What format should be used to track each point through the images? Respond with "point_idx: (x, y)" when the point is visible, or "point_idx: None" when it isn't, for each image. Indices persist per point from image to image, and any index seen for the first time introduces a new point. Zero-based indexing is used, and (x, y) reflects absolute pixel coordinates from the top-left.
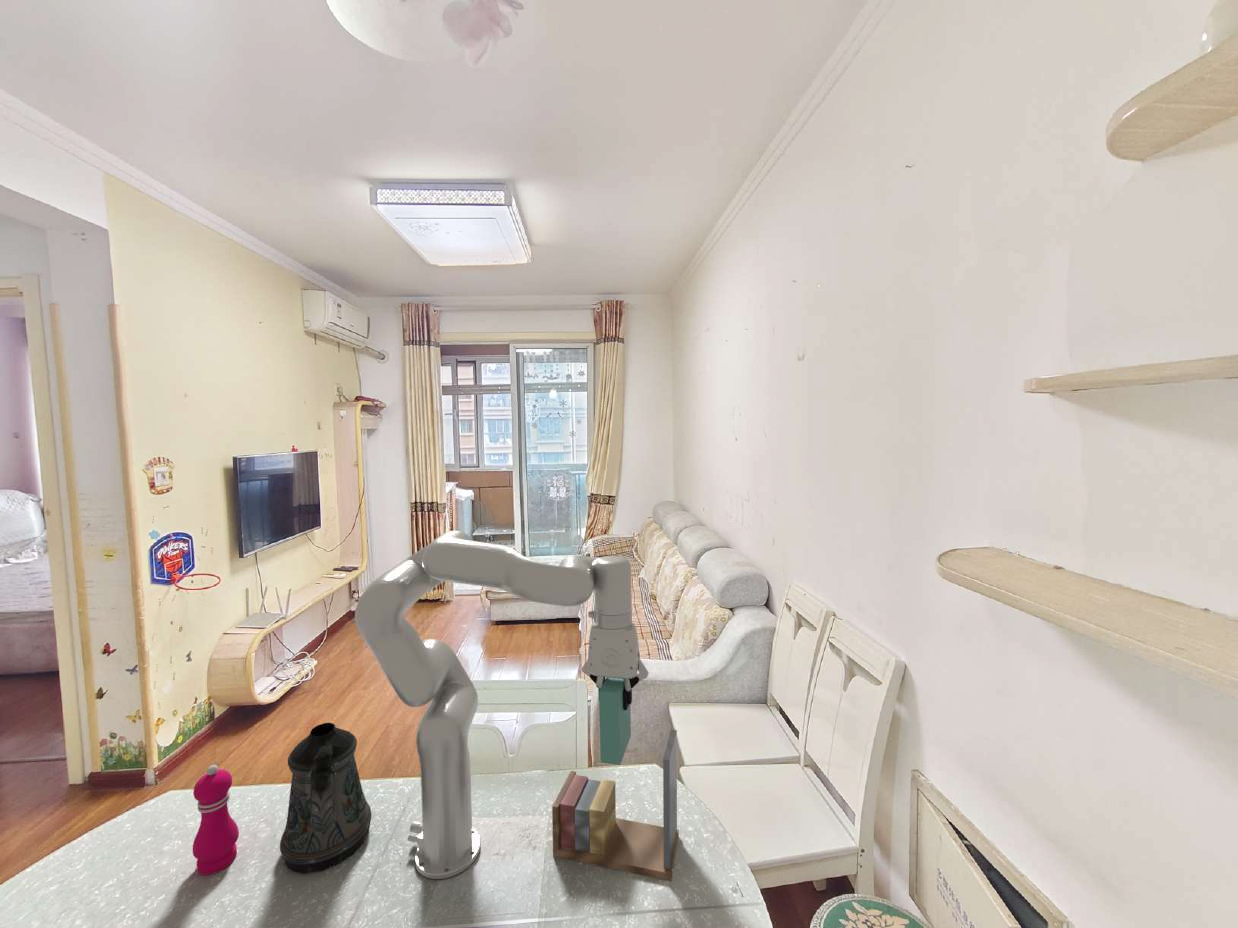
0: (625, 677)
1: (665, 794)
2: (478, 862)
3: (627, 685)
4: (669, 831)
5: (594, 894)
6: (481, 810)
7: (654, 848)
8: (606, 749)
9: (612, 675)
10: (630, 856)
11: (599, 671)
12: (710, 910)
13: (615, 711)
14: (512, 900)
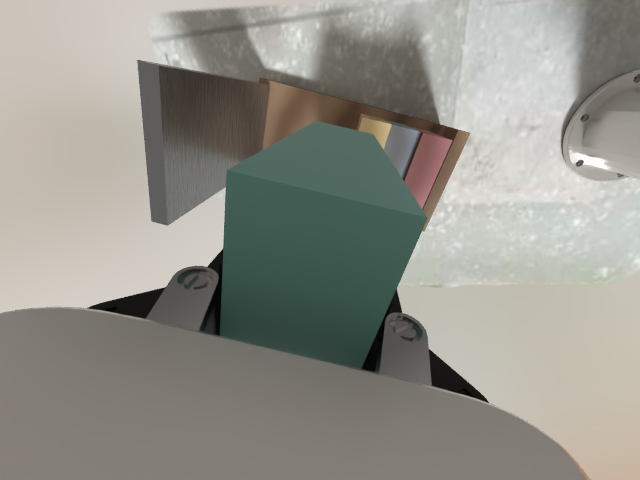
0: (107, 317)
1: (211, 74)
2: (567, 109)
3: (187, 292)
4: (237, 78)
5: (376, 48)
6: (553, 215)
7: (284, 127)
8: (355, 134)
9: (268, 364)
10: (320, 111)
11: (449, 446)
12: (207, 25)
13: (298, 148)
14: (512, 29)
